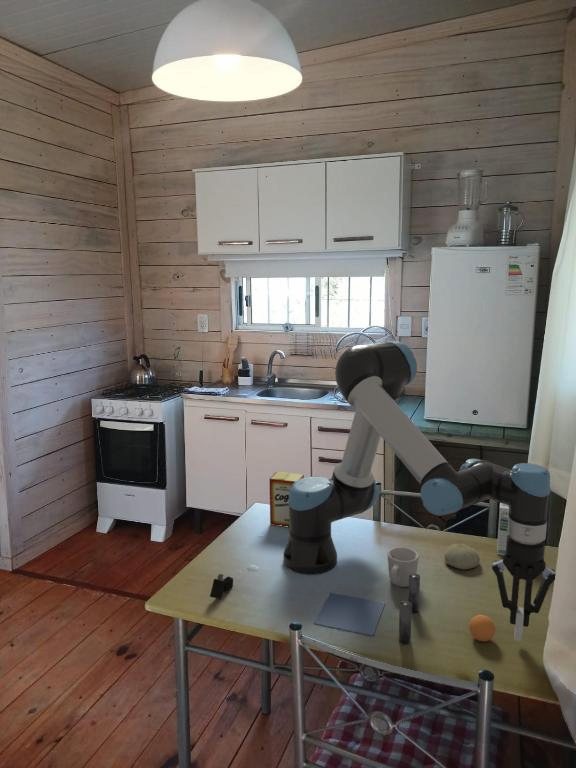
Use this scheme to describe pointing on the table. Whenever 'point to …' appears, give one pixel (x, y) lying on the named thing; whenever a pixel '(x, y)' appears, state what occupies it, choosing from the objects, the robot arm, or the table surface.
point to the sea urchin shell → (461, 556)
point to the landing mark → (350, 613)
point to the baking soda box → (281, 496)
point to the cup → (402, 565)
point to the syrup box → (502, 529)
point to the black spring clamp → (221, 586)
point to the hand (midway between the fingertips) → (517, 637)
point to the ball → (482, 628)
